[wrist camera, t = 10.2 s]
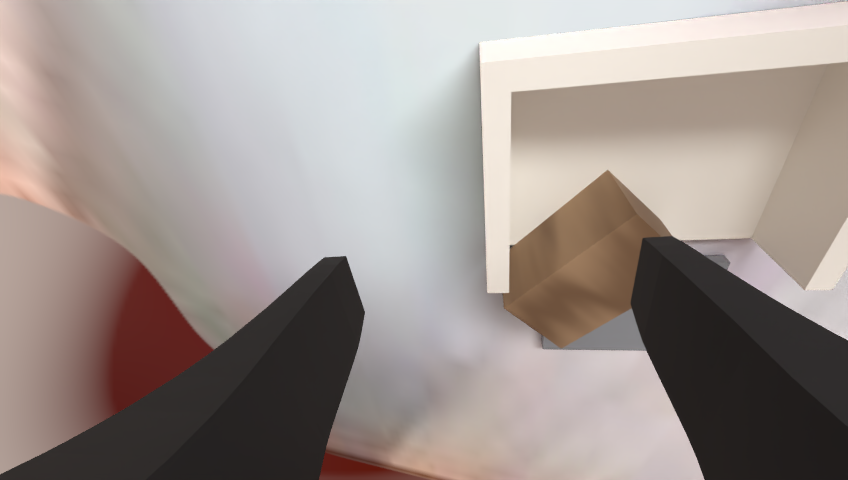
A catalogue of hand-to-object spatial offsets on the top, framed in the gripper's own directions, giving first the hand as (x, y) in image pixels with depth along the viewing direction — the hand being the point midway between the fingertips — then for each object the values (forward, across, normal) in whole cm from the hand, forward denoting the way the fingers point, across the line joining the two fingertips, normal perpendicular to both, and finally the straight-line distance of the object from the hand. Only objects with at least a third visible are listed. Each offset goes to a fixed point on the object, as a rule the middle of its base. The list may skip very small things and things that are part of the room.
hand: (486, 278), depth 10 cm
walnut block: (+8, -7, +4) cm, 11 cm away
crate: (+10, -7, +2) cm, 13 cm away
